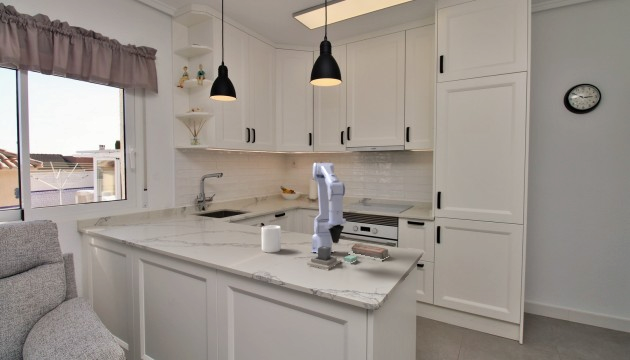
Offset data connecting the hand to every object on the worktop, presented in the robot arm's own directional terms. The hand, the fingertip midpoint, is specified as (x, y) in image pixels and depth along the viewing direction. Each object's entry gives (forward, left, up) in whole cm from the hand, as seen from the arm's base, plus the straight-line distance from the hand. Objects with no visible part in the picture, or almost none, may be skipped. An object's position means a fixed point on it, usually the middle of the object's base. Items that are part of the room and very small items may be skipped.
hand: (335, 242), depth 129 cm
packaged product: (+6, +22, -11) cm, 25 cm away
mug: (-39, +2, -10) cm, 40 cm away
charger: (-5, -1, -9) cm, 10 cm away
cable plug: (+3, +9, -10) cm, 14 cm away
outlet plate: (-5, 0, -10) cm, 11 cm away
